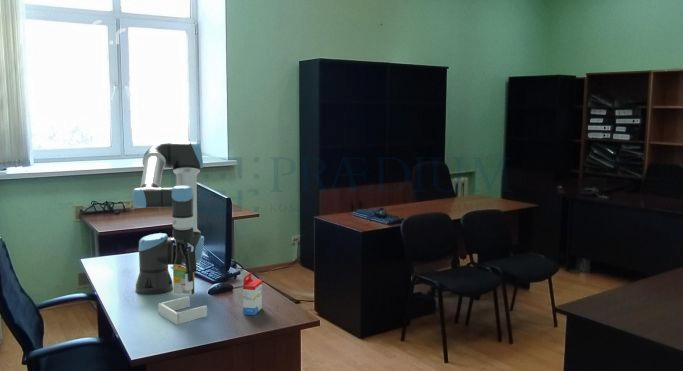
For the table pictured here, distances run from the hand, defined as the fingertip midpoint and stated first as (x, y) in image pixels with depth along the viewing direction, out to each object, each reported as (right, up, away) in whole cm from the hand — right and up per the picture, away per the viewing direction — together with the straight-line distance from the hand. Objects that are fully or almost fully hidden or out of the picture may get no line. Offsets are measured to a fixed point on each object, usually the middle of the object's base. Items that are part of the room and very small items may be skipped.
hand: (184, 286), depth 219 cm
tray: (-1, -11, +2) cm, 11 cm away
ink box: (+25, -11, +7) cm, 28 cm away
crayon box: (0, -3, 0) cm, 3 cm away
